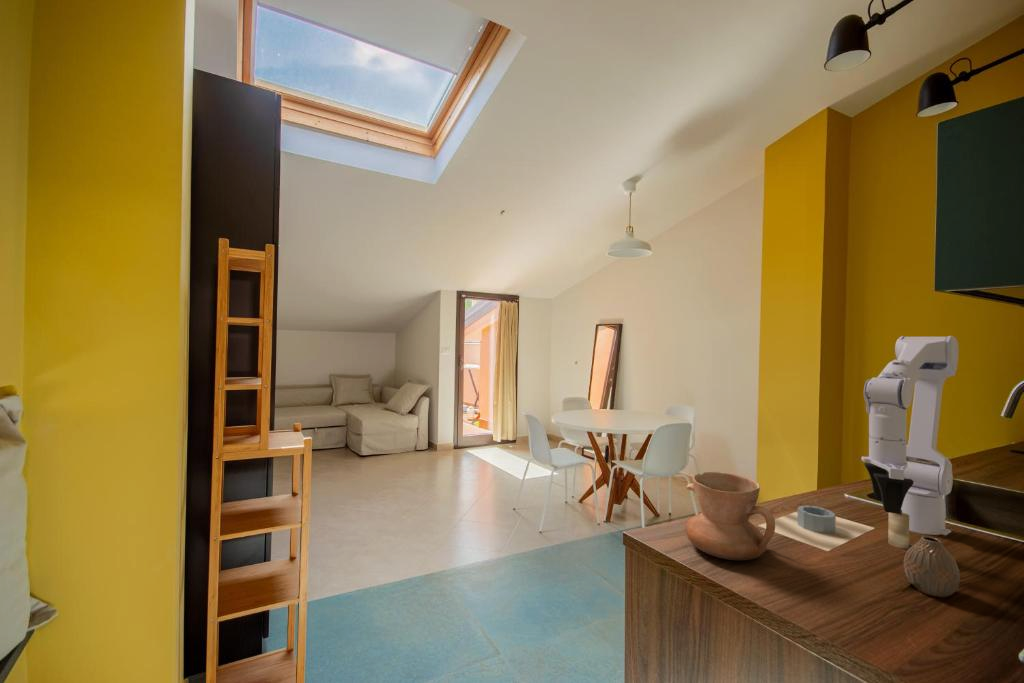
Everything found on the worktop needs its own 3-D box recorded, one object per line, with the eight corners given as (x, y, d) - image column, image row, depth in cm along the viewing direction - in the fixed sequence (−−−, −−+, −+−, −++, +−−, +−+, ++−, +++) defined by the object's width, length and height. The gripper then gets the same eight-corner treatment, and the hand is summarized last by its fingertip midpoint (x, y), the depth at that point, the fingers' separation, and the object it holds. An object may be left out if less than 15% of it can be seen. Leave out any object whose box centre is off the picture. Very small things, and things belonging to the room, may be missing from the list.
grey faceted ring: (807, 518, 104) (807, 503, 104) (840, 529, 98) (840, 513, 98) (791, 524, 100) (791, 509, 100) (825, 535, 94) (826, 519, 94)
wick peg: (891, 543, 93) (892, 505, 93) (911, 550, 90) (911, 510, 90) (885, 547, 91) (885, 508, 91) (905, 553, 88) (905, 513, 88)
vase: (971, 605, 71) (971, 550, 71) (921, 599, 72) (921, 545, 72) (939, 582, 78) (939, 532, 78) (894, 577, 79) (894, 528, 79)
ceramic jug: (665, 541, 92) (666, 474, 92) (708, 526, 100) (710, 464, 100) (749, 584, 77) (750, 503, 77) (793, 562, 84) (795, 488, 84)
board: (806, 510, 111) (806, 507, 111) (874, 531, 99) (874, 528, 99) (757, 529, 99) (757, 525, 99) (827, 555, 87) (827, 551, 87)
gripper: (855, 429, 97) (855, 491, 97) (869, 442, 84) (869, 514, 84) (897, 433, 93) (896, 497, 93) (918, 447, 81) (918, 521, 81)
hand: (886, 505), depth 88 cm, fingers open, 7 cm apart
